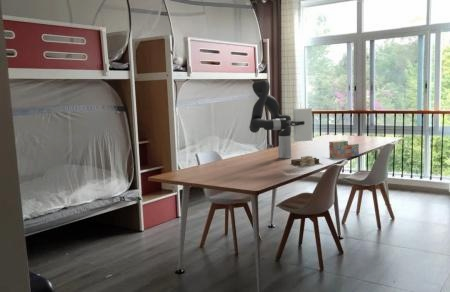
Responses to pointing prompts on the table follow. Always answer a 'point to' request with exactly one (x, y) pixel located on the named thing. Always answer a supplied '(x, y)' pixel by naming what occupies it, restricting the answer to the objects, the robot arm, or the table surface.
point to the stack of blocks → (343, 149)
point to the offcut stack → (307, 161)
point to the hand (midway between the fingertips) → (303, 122)
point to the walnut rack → (297, 161)
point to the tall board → (303, 130)
